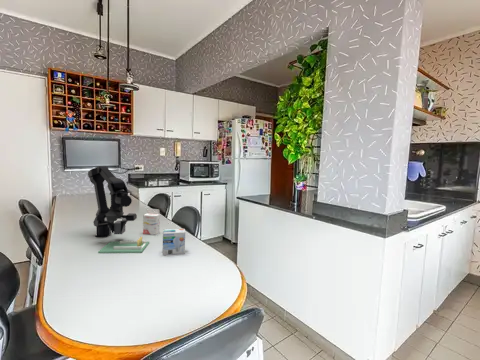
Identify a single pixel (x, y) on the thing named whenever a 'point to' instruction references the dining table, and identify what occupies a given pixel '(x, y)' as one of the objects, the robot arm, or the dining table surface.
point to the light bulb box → (173, 241)
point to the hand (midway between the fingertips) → (117, 232)
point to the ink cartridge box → (151, 222)
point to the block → (118, 228)
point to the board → (125, 247)
